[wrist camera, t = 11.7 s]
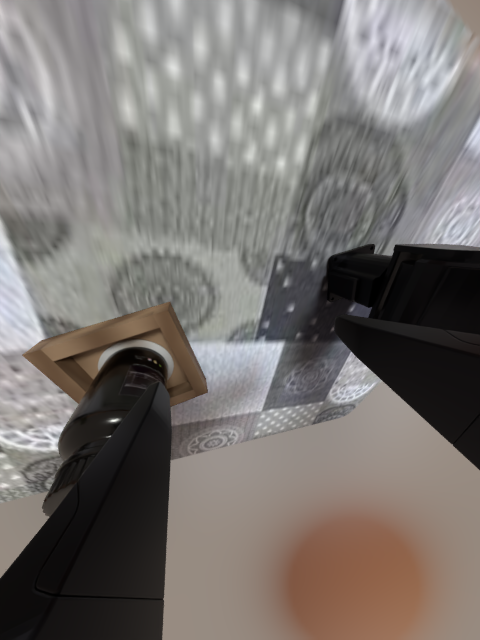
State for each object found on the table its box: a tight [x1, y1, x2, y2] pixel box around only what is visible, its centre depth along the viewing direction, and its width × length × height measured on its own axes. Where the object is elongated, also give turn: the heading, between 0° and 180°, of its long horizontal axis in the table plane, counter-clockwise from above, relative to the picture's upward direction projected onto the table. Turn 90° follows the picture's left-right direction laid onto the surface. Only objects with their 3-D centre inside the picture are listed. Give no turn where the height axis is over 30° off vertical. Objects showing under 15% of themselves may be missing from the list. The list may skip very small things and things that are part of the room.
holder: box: [23, 302, 208, 407], centre depth 20 cm, size 13×13×2 cm
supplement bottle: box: [42, 347, 168, 517], centre depth 15 cm, size 7×7×12 cm
